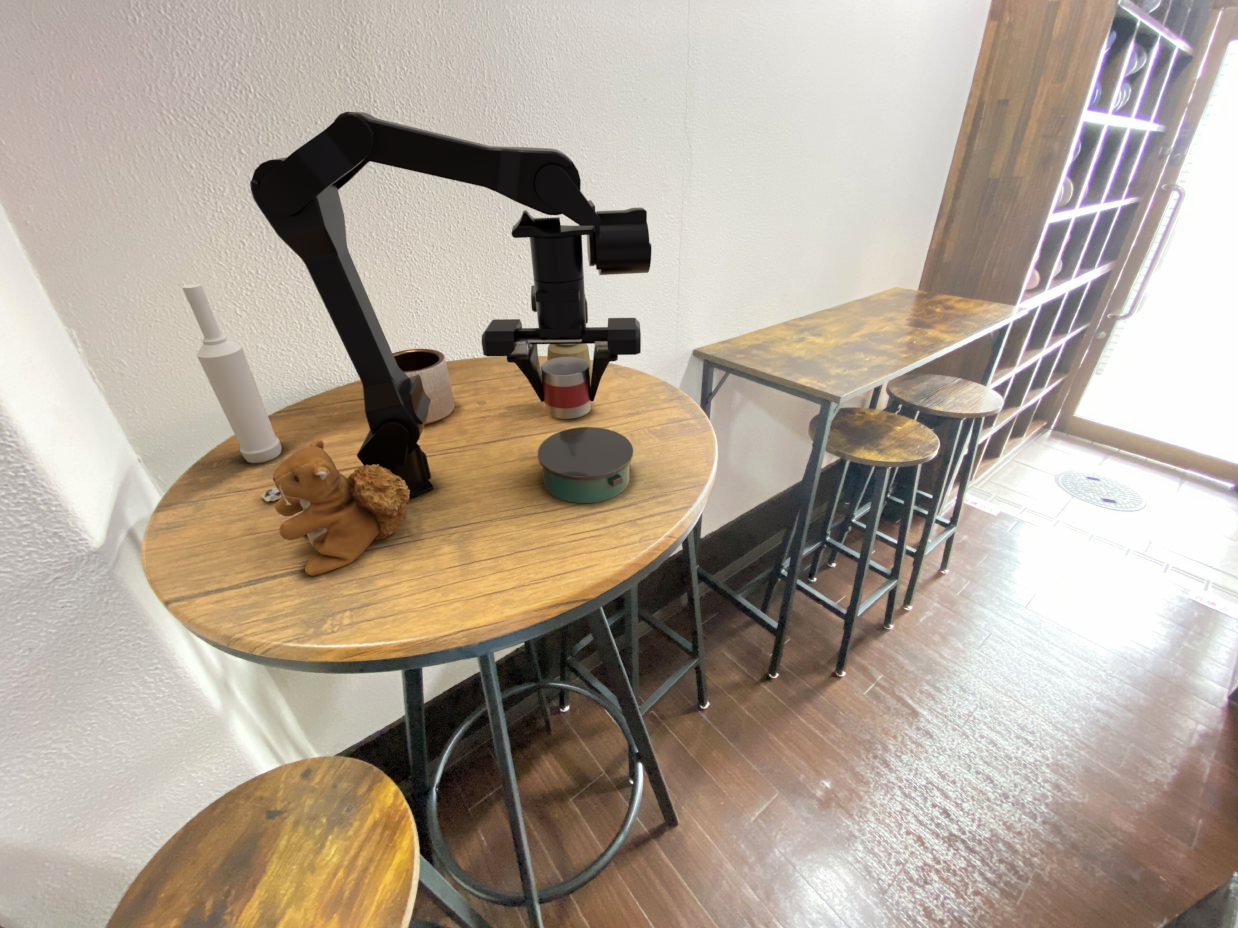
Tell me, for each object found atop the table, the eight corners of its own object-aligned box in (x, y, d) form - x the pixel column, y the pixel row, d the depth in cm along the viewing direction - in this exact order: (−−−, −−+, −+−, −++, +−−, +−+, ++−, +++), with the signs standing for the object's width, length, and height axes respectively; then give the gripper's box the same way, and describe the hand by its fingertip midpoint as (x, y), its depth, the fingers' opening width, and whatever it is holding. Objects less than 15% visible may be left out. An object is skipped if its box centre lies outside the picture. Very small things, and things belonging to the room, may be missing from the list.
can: (562, 424, 66) (558, 379, 63) (535, 407, 70) (531, 364, 67) (600, 409, 70) (599, 366, 66) (573, 394, 74) (570, 352, 70)
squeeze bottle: (573, 427, 87) (567, 319, 78) (538, 413, 91) (528, 309, 82) (604, 409, 93) (602, 306, 83) (569, 397, 97) (563, 297, 87)
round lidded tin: (578, 520, 67) (576, 491, 65) (521, 472, 76) (517, 445, 74) (654, 482, 74) (655, 454, 72) (593, 443, 83) (592, 417, 81)
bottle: (266, 465, 78) (191, 292, 64) (235, 461, 79) (155, 290, 65) (291, 447, 82) (225, 281, 69) (261, 444, 83) (191, 279, 69)
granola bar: (312, 476, 75) (310, 470, 75) (320, 482, 74) (317, 476, 73) (261, 498, 71) (258, 492, 70) (268, 505, 70) (265, 498, 69)
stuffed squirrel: (296, 529, 66) (256, 437, 59) (415, 501, 71) (392, 413, 63) (290, 583, 58) (243, 485, 51) (424, 548, 63) (399, 453, 56)
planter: (445, 428, 87) (433, 373, 82) (379, 427, 87) (363, 373, 82) (462, 398, 96) (453, 348, 91) (403, 398, 97) (390, 347, 91)
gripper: (638, 260, 67) (638, 374, 76) (491, 262, 68) (507, 376, 76) (641, 283, 58) (640, 410, 67) (470, 285, 58) (491, 412, 67)
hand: (567, 400), depth 69 cm, fingers closed on can, 6 cm apart
